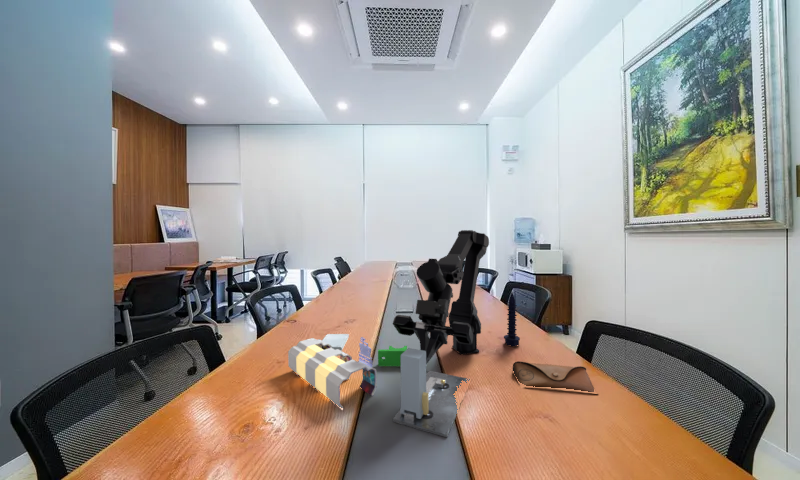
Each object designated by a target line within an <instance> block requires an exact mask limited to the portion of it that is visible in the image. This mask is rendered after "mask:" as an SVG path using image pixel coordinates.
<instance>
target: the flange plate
mask: <svg viewBox="0 0 800 480" xmlns="http://www.w3.org/2000/svg"><path fill="white" fill-rule="evenodd" d="M466 379H467V377H462V376H456V375H453V374H449V373H448V374H447V373H442V372H438V371H433V370H429V371H428V372H426V393H428V394H429V413H428V414H427V415H424V414H423V416H422V418H421V419H418V418H416V413H414V412H411V411H407V410H406V412H405V413H404V414H400V409H399V410H398V412H396V414H395V416H394V417H393V418H392V422H394V423H397V424H399V425H403V426H406V427H409V428H413V429H416V430H420V431H422V432H423V431H424V432H427V433H430V434H434V435H437V436H440V437H443V438H448V436H449V433H450V431H451V428H452V426H453V424H454V422H455V420H456V417H457V415H458V413H457V410H458V409H457V405H456V403H457V402H456V400H455V399H456V398H455V397H454V396H455V395H453V394H454V393H455V391H457V387H456V386H458V388H459V385H460V383H462V382H461V381H462V380H463V381H465V382H466V381H467V380H468V379H469V380H470V379H471V378H468V379H467V380H466ZM469 380H468V381H469ZM466 383H467V382H466ZM460 386H461V385H460ZM455 402H456V403H455ZM456 414H457V415H456Z"/></svg>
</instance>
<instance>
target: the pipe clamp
mask: <svg viewBox="0 0 800 480" xmlns="http://www.w3.org/2000/svg"><path fill="white" fill-rule="evenodd" d="M407 349H408V345H404V346H403V347H400V348H398V347H393V346H392V345H389V346H388V349H387V348H386V349H385V348H384V349H381V348H380V349H378V350H377V365H378V367H401V354H402V353H403V352H405V351H406V350H407Z"/></svg>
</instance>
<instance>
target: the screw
mask: <svg viewBox="0 0 800 480" xmlns="http://www.w3.org/2000/svg"><path fill="white" fill-rule="evenodd" d="M509 295H510V296H509V298H508V303H507V309H506V310H507V314H506V315H507V319H506V320H507V324H506V325H507V328H506V329H507V330H508V331H507V334H505V335H504V336H503V339H504V343H505V344H506V346H507V345H511V346H510V347H513V346H515V347H518V346H517V345H520V340H521V338H520V337H519V336H518V335H517V327H516V326H518V325H517V324H516V323H517V322H516V321H518V320H517V319H516V318H517V316H518V315H517V314H516V313H517V311H518V309H517V305H516V304H517V303H516V299H515V295H514V292H513V291H511V292H510V294H509Z"/></svg>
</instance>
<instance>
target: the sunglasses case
mask: <svg viewBox="0 0 800 480" xmlns="http://www.w3.org/2000/svg"><path fill="white" fill-rule="evenodd" d="M513 371H514V374H515V376H516V377H517V379H518V381H519V382H520V383H522V384H524V385H526V386H533V387H534V386H535V387H551V388H566V389H574V390H581V391H588V392H594V389H595V388H594V385H593V383H592V381H591V379H590V377H589V374H588V372H587V367H585V366H579V365H578V366H569V365H560V364H548V363H533V362H531V363H530V362H527V361H519V360H518V361H515V362H513V364H512V372H513ZM514 374H513V375H514ZM515 376H514V377H515Z"/></svg>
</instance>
